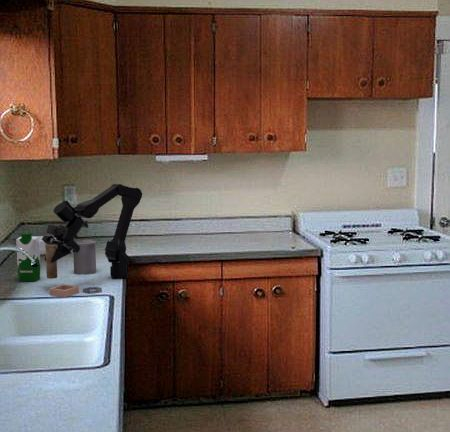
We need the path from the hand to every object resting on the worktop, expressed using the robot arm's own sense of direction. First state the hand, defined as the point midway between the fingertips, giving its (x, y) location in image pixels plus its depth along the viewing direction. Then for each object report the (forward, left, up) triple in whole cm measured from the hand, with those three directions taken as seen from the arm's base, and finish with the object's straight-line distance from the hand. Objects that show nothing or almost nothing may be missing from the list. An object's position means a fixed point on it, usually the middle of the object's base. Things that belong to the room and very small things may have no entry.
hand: (48, 261), depth 251 cm
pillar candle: (-14, -34, -12) cm, 39 cm away
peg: (-1, -1, -7) cm, 7 cm away
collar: (-6, +5, -12) cm, 14 cm away
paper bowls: (+7, -88, -12) cm, 89 cm away
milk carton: (+9, -24, -12) cm, 28 cm away
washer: (-16, +3, -12) cm, 20 cm away
